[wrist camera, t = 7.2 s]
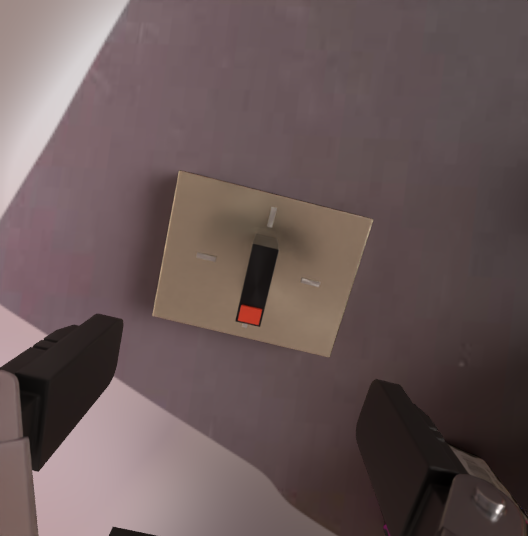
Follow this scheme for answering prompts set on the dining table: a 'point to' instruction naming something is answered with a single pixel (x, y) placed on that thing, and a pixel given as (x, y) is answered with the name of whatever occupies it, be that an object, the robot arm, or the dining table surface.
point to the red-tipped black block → (257, 280)
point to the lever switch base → (237, 257)
